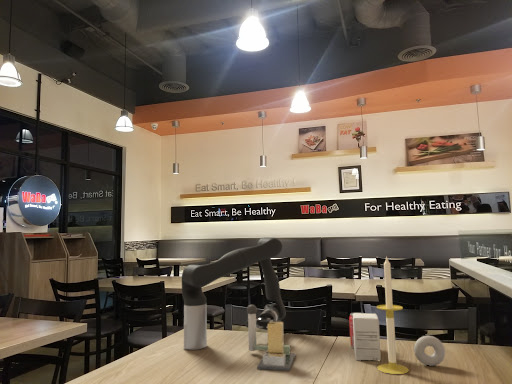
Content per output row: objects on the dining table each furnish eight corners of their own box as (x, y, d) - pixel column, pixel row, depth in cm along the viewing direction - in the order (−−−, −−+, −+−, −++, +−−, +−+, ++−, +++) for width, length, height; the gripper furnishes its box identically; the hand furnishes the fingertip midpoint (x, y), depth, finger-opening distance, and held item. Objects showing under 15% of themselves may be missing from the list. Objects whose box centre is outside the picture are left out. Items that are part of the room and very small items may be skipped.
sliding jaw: (248, 348, 153) (248, 303, 155) (291, 350, 150) (290, 304, 151) (245, 353, 148) (244, 306, 150) (289, 355, 144) (288, 307, 146)
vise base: (266, 354, 150) (266, 343, 150) (295, 355, 147) (295, 344, 148) (257, 369, 133) (257, 356, 134) (289, 371, 131) (289, 357, 132)
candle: (394, 363, 137) (388, 254, 141) (415, 372, 128) (408, 255, 132) (370, 367, 133) (365, 255, 137) (390, 376, 124) (384, 257, 128)
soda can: (369, 350, 152) (368, 316, 153) (350, 349, 153) (349, 315, 155) (368, 345, 159) (366, 312, 160) (350, 344, 160) (348, 312, 162)
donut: (416, 367, 132) (414, 336, 134) (413, 363, 136) (412, 334, 137) (447, 368, 131) (445, 337, 132) (444, 364, 134) (442, 334, 135)
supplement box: (354, 353, 149) (352, 312, 151) (378, 354, 147) (376, 313, 149) (355, 360, 140) (353, 317, 142) (381, 361, 139) (378, 318, 140)
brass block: (270, 358, 141) (269, 321, 143) (284, 359, 140) (283, 321, 142) (268, 362, 137) (267, 324, 139) (282, 362, 136) (281, 324, 138)
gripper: (252, 309, 177) (243, 317, 161) (283, 310, 173) (277, 318, 158) (252, 327, 176) (243, 336, 160) (284, 328, 173) (277, 337, 157)
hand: (260, 327), depth 159 cm, fingers open, 8 cm apart
